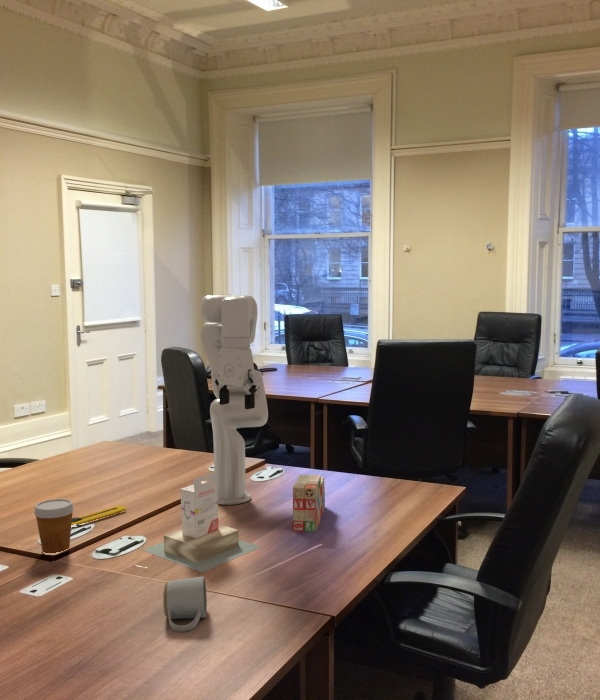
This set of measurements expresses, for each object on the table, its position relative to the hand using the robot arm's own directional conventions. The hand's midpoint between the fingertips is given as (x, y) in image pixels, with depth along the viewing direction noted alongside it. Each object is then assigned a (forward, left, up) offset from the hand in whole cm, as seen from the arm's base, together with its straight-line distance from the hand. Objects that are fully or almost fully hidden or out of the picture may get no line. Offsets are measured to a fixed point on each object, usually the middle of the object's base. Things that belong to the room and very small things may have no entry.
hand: (236, 406), depth 191 cm
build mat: (+6, -19, -33) cm, 38 cm away
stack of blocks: (+12, +16, -33) cm, 39 cm away
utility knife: (-36, -23, -33) cm, 54 cm away
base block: (+6, -19, -32) cm, 38 cm away
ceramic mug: (+31, -46, -33) cm, 64 cm away
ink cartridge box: (+5, -19, -29) cm, 35 cm away
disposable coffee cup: (-22, -42, -33) cm, 58 cm away
